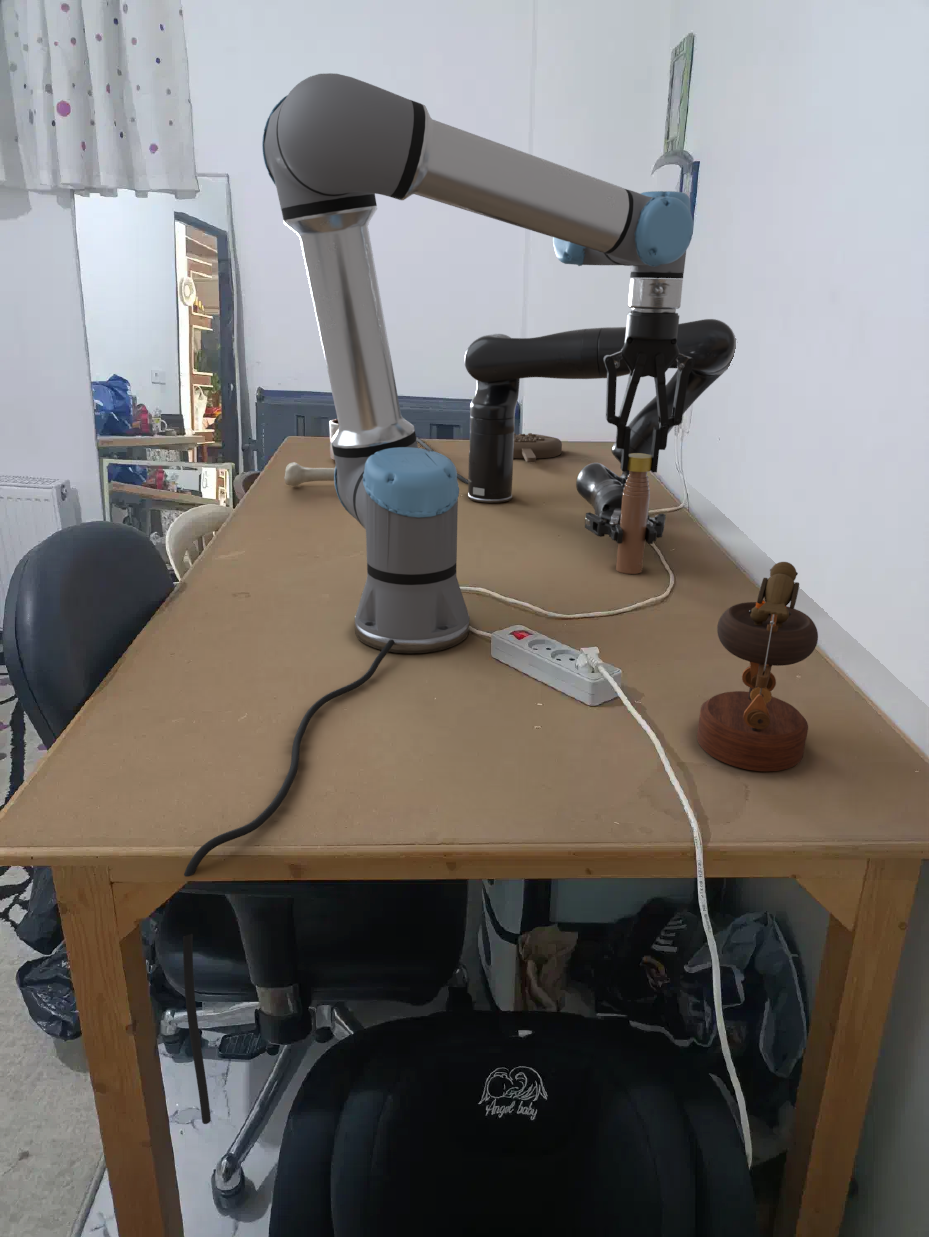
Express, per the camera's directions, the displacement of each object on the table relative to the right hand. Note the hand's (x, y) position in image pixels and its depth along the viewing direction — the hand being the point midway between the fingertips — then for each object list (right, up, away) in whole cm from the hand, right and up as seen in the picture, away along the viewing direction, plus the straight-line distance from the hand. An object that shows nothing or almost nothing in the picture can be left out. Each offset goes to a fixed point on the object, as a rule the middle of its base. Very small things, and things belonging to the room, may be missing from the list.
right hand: (635, 537), depth 133 cm
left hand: (0, +10, -1) cm, 11 cm away
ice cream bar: (-11, +29, +88) cm, 93 cm away
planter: (-56, +27, +81) cm, 102 cm away
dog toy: (-57, +17, +56) cm, 81 cm away
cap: (0, +12, -2) cm, 12 cm away
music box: (+2, -26, -45) cm, 52 cm away
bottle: (0, -5, +5) cm, 7 cm away
